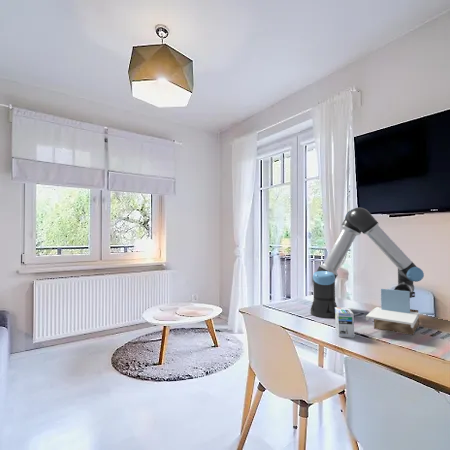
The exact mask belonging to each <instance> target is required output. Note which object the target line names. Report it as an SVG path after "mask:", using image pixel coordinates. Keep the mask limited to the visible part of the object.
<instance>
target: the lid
mask: <svg viewBox="0 0 450 450" xmlns="http://www.w3.org/2000/svg"><path fill="white" fill-rule="evenodd" d="M380 297H381V298H380V300H381V301H380V305H381V306H380V307H379V306H375V308H373V309H372V310H370V311H369V312H368V313H367V314H366V315H365V321H366V322H367V321H369V320H370V319H371V320H374V319H377V320H383V321H390V322H396V323H403V324H409V325H411V328H413V327H414V325H415V323H416V321H417V320H419V318H420V313H419V311H418V312H410V309H411V298H410V291H400V290H394V289H389V288H380Z"/></svg>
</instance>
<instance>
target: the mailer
mask: <svg viewBox="0 0 450 450" xmlns="http://www.w3.org/2000/svg"><path fill="white" fill-rule="evenodd" d="M410 312H418V313H419V309H418V310H417V309H412V308H410ZM419 324H420V323H419V319H418V320H417V321H416V323H415V325H414V327H413V328H411V325H409V324H403V323H396V322H390V321H383V320H377V319H373V328H374V329H376V330H381V331H386V332H392V333H398V334H402V335H403V334H405V335H410V336H414V335H415V332H416V331H417V329H418V326H419Z"/></svg>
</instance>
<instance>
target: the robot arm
mask: <svg viewBox="0 0 450 450" xmlns="http://www.w3.org/2000/svg"><path fill="white" fill-rule="evenodd" d="M340 226H341V231H340V233H339V235H337V239H336V240H335V241H334V243H333V246H332V247H331V250H330V251H329V252H328V255H327V257H326V258H325V260H324V262H323V264H320V265H319V266H318V268H317V269H316V271H315V272H313V274H312V275H313V276H312V279H311V281H312V286H313V289H312V290H313V294H312V295H313V300H312V304H311V307H310V309H309V311H310V315H312V316H314V317H318V318H325V319H326V318H327V319H329V318H335V307H338V305H337V302H336V279H337V278H338V270H339V268H340V266H341V264H342V262H343V261H344V259H345V257H346V255H347V253H348V251H350V248H351V246H352V244H353V242H354V241H355V239H356V237H357V236H360V235H361V234H363V235H366V236H367V237H368V238H369V239H370V240H371V241H372V242H373V243H374V244H375V245H376V246H377V248H379V249H380V251H382V253H384V255H385V256H386V257H387V258H388V260H389V261H391V262H392V263H393V264H394V265H395V267H396V268H397V285H396V286H395V287H394V289H393V290H400V291H410V299H411V298H416V292H415V286H414V283H415V282H420V281H422V280H423V279H424V276H425V275H424V274H425V273H424V271H423V269H421V268H420V267H418V266H417V265H416V264H415V263H414V262H413V261H412V260H411V259H410V257H408V256H407V255H406V253H404V251H403V250H402V249H401V248H400V247H399V246H398V245H397V243H395V242H394V241H393V240H392V239H391V238H390V236H389V235H388V234H387V233H386V232H385V231H384V229H382V228H381V226H379V222H378V221H377V220H376V218H375V217H374V215H372V213H371V212H370V211H368V209H366V208H364V207H355V208H352V209H350V210H349V211H347V213H346V215H345V216H344V219H343V222H342V224H341V225H340Z"/></svg>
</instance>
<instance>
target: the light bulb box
mask: <svg viewBox="0 0 450 450" xmlns="http://www.w3.org/2000/svg"><path fill="white" fill-rule="evenodd" d="M334 318H335V321H334V322H335V327H334V328H335V332H336V333H337V336H338V337H339V338H351V339H355V314H354V312H353V310H351V309H350V307H339V306H337V307H335V317H334Z"/></svg>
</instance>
